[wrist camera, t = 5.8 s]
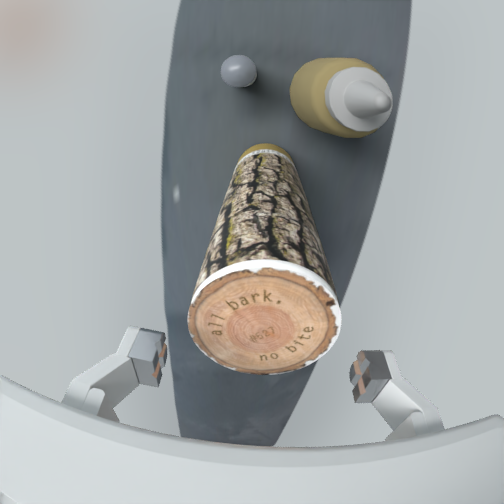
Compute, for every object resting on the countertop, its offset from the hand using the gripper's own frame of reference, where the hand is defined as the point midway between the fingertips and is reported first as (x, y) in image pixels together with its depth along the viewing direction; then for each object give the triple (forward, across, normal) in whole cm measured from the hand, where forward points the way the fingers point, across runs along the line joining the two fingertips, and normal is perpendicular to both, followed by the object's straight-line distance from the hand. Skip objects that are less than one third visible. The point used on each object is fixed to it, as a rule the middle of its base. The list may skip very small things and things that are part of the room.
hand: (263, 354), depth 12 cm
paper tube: (+26, 0, 0) cm, 27 cm away
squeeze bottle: (+26, -5, -10) cm, 29 cm away
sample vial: (+26, +4, -11) cm, 29 cm away
